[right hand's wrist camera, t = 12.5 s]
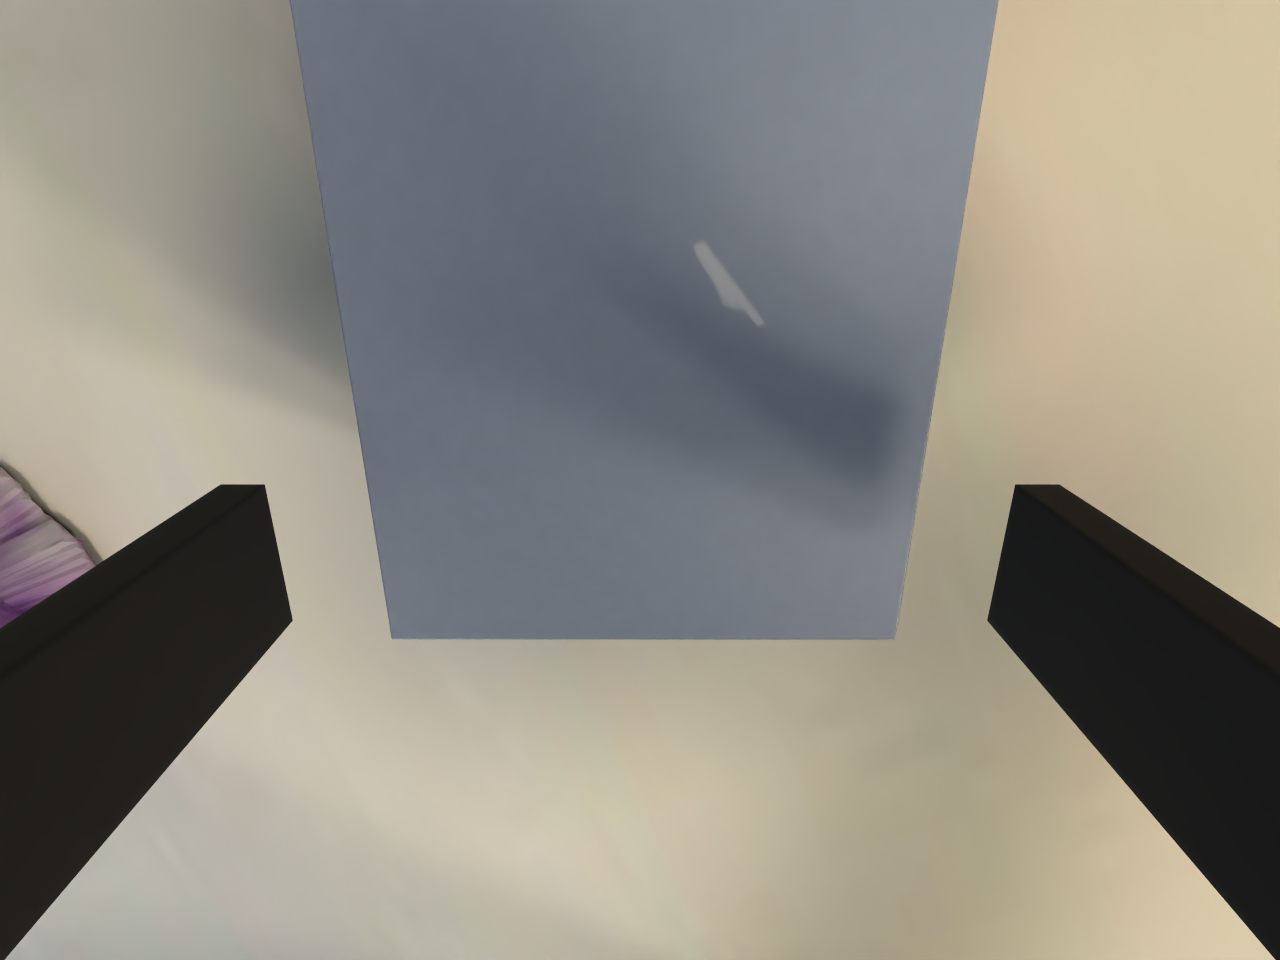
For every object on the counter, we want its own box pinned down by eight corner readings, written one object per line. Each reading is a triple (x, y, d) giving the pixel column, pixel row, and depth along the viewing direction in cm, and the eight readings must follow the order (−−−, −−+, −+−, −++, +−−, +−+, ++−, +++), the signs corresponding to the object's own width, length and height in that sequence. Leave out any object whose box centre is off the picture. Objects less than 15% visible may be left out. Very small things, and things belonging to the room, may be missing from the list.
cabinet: (395, -437, 15) (93, -1214, 7) (891, -439, 15) (1199, -1223, 7) (481, 480, 24) (390, 640, 15) (804, 480, 24) (895, 641, 15)
